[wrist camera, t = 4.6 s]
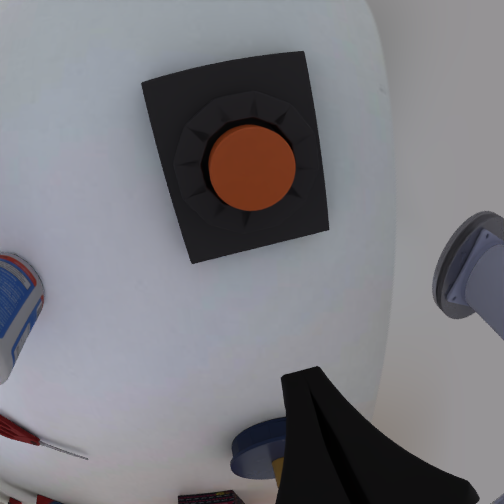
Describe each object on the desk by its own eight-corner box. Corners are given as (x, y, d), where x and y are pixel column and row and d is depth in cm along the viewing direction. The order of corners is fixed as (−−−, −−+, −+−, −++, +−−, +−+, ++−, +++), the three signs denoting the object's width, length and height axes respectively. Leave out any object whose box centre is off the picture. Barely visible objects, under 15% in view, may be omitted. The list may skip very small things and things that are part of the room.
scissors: (-13, 406, 22) (-15, 412, 21) (89, 448, 27) (88, 455, 26) (-6, 426, 24) (-8, 431, 23) (87, 462, 29) (86, 469, 28)
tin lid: (348, 424, 28) (361, 456, 24) (302, 469, 32) (311, 496, 29) (248, 427, 25) (256, 467, 21) (218, 472, 29) (222, 503, 25)
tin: (336, 415, 30) (343, 432, 28) (297, 457, 34) (302, 472, 31) (248, 415, 27) (253, 435, 25) (221, 458, 31) (223, 475, 29)
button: (291, 191, 15) (301, 201, 13) (218, 208, 15) (220, 220, 13) (279, 118, 13) (289, 119, 12) (200, 134, 13) (200, 137, 11)
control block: (321, 221, 19) (341, 242, 16) (191, 253, 18) (191, 280, 16) (296, 54, 14) (315, 45, 11) (145, 84, 14) (134, 80, 11)
